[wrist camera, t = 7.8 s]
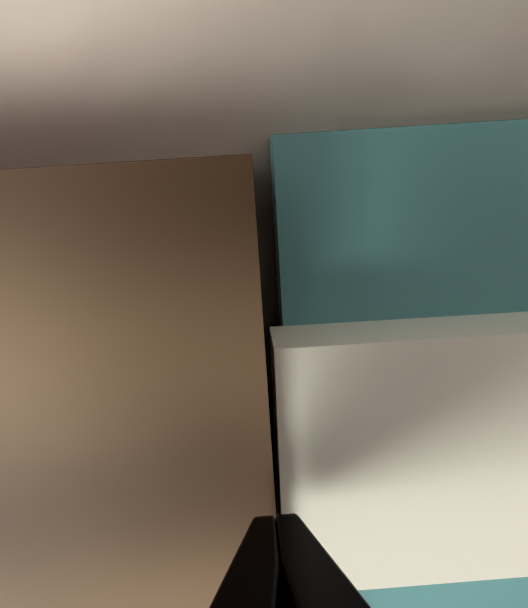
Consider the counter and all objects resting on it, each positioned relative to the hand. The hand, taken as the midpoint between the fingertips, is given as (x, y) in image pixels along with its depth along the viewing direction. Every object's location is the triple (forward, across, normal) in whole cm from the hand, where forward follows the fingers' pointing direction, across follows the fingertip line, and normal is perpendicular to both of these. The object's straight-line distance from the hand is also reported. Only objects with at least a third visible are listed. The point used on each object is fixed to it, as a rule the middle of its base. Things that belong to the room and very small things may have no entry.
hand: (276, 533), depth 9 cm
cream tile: (+2, -4, 0) cm, 5 cm away
